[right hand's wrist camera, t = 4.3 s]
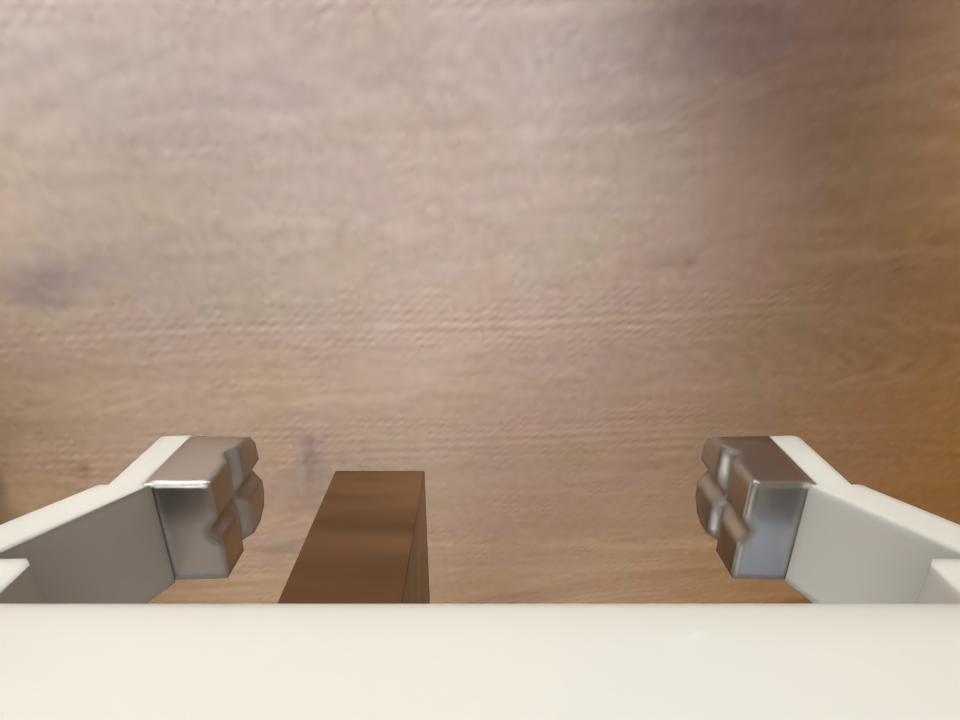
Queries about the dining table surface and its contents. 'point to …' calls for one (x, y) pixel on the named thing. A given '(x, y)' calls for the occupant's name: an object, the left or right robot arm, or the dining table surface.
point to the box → (365, 543)
